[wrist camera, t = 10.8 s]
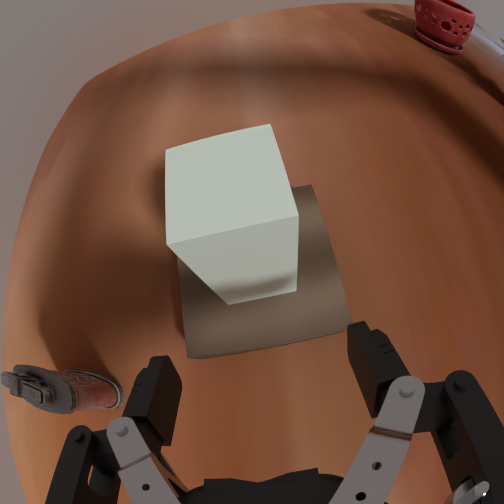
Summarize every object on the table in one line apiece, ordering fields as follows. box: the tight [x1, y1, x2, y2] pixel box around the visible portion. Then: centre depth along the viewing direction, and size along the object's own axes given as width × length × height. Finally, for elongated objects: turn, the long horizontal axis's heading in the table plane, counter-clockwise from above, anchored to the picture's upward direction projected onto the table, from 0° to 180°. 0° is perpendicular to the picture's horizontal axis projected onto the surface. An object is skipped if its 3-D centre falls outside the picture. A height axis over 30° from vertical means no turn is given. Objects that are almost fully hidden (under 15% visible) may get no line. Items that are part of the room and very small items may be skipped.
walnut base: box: [177, 184, 352, 359], centre depth 23 cm, size 12×12×3 cm
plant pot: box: [414, 0, 475, 54], centre depth 32 cm, size 13×13×12 cm
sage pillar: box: [165, 124, 299, 305], centre depth 16 cm, size 5×5×11 cm
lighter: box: [1, 365, 124, 414], centre depth 18 cm, size 8×3×10 cm, turn 90°
